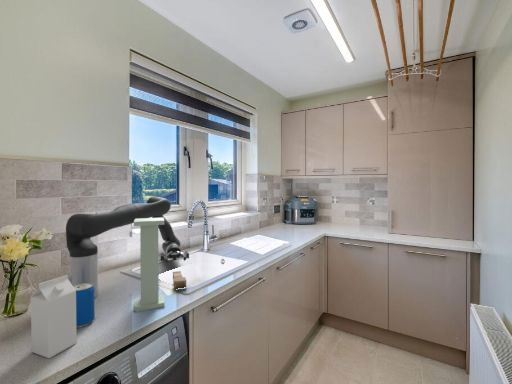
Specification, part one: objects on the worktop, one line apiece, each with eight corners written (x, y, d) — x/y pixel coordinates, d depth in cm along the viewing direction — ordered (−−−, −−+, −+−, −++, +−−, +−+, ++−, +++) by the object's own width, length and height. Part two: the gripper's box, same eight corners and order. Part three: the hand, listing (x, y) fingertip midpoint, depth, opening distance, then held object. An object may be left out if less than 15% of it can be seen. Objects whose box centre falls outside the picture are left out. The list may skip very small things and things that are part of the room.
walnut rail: (186, 289, 110) (186, 280, 110) (174, 290, 108) (174, 281, 108) (181, 276, 125) (181, 268, 125) (171, 278, 123) (171, 270, 123)
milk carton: (31, 352, 68) (30, 281, 67) (60, 337, 75) (59, 273, 74) (48, 359, 65) (47, 285, 65) (76, 343, 72) (76, 276, 72)
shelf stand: (164, 308, 93) (164, 220, 92) (134, 313, 89) (133, 221, 88) (163, 297, 101) (163, 217, 101) (135, 302, 98) (135, 218, 97)
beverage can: (90, 315, 87) (90, 281, 87) (97, 322, 83) (97, 285, 83) (67, 323, 82) (67, 286, 82) (74, 331, 78) (73, 292, 78)
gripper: (159, 246, 140) (160, 253, 125) (186, 244, 145) (190, 250, 130) (159, 259, 140) (160, 268, 125) (186, 257, 146) (190, 265, 131)
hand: (175, 259), depth 128 cm, fingers open, 8 cm apart
